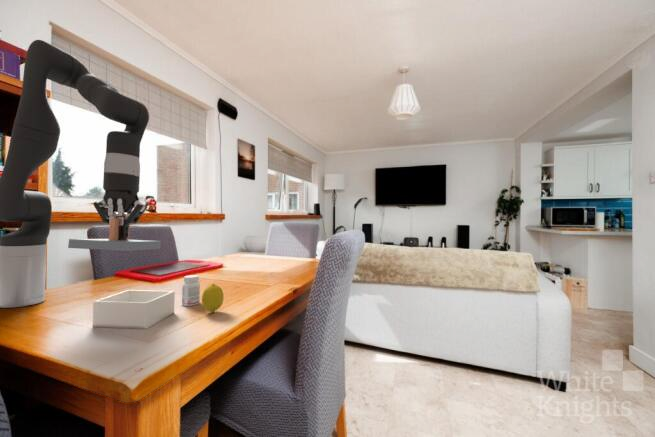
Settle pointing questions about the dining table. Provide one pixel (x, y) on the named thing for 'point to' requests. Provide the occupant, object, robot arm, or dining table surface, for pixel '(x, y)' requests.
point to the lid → (114, 241)
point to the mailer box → (133, 309)
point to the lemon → (212, 298)
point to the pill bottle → (191, 290)
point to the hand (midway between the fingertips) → (119, 239)
